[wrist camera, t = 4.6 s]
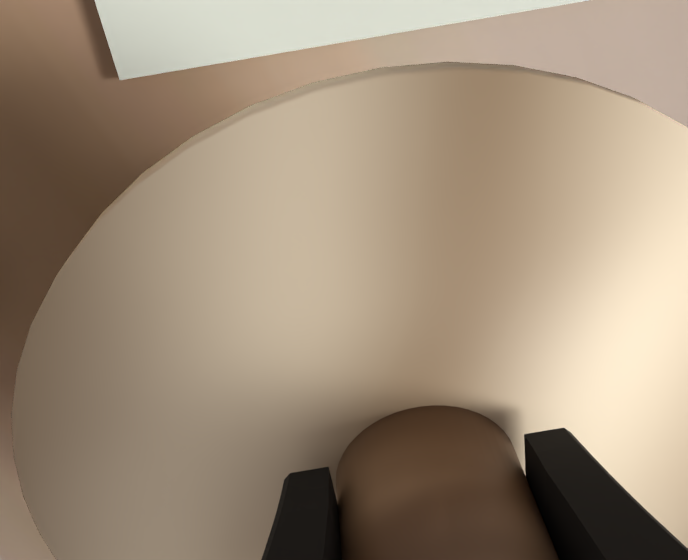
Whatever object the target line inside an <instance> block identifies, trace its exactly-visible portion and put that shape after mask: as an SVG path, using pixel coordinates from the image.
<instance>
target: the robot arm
mask: <svg viewBox="0 0 688 560" xmlns="http://www.w3.org/2000/svg"><path fill="white" fill-rule="evenodd" d="M524 444H525V474H526V478H527V481H528V483H529V486H530V488H531V491H532V493H533V496H534V498H535V501H536V503H537V506H538V508H539V510H540V513H541V515H542V518H543V520H544V523H545V525H546V528H547V530H548V533H549V535H550V538H551V540H552V542H553V545H554V547H555V550H556V552H557V555H558V557H559V560H688V548H687V547H686V546H684V545H683V544H682V543H681V542H680V541H679V540H678V539H677V538H676V537H675V536H674V535H673V534H672V533H670V532H669V531H668V530H667V529H666V528H665V527H664V526H663V525H662V524H661V523H660V522H659V521H658V520H656V519H655V518H654V517H653V516H652V515H651V514H650V513H649V512H648V511H647V510H646V509H645V508H644V507H643V506H642V505H641V504H640V503H639V502H637V501H636V500H635V499H634V498H633V497H632V496H631V495H630V494H629V493H628V492H627V491H626V490H625V489H624V488H623V487H622V486H621V485H620V484H619V483H618V482H617V481H616V480H615V479H614V478H613V477H612V476H611V475H610V474H609V473H608V471H607V470H606V469H605V468H604V467H603V466H602V465H601V464H600V463H599V462H598V461H597V460H596V459H595V458H594V457H593V456H592V455H591V454H590V453H589V452H588V450H587V449H586V448H585V447H584V446H583V445H582V444H581V443H580V442H579V441H578V440H577V439H576V437H575V436H574V435H573V434H572V433H571V432H570V431H568V430H567V429H565V428H558V429H552V430H546V431H540V432H534V433H528V434H524ZM261 560H342V556H341V542H340V528H339V513H338V504H337V500H336V495H335V491H334V487H333V483H332V479H331V474H330V470H329V467H323V468H317V469H311V470H305V471H299V472H293V473H290V474H289V475H288V476H287V477H286V478H285V479H284V483H283V487H282V492H281V496H280V500H279V504H278V508H277V511H276V515H275V518H274V522H273V525H272V528H271V532H270V535H269V538H268V541H267V544H266V547H265V550H264V553H263V556H262V559H261Z"/></svg>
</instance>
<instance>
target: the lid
mask: <svg viewBox="0 0 688 560" xmlns="http://www.w3.org/2000/svg"><path fill="white" fill-rule="evenodd" d="M11 418H12V435H13V452H14V460H15V464H16V468H17V472H18V476H19V481H20V485H21V489H22V493H23V497H24V499H25V501H26V504H27V506H28V508H29V511H30V513H31V515H32V518H33V520H34V522H35V524H36V527H37V529H38V531H39V533H40V535H41V536H42V538H43V540H44V541H45V543H46V544H47V546H48V547H49V549H50V551H51V552H52V554H53V555H54V557H55V558H56V560H261V559H262V556H263V553H264V550H265V547H266V544H267V541H268V538H269V535H270V532H271V528H272V525H273V522H274V518H275V515H276V511H277V508H278V504H279V500H280V496H281V492H282V487H283V483H284V479H285V478H286V477H287V476H288V475H289V474H290V473H293V472H299V471H305V470H311V469H317V468H323V467H329V470H330V474H331V479H332V483H333V487H334V491H335V495H336V500H337V504H338V513H339V528H340V542H341V556H342V560H559V557H558V555H557V552H556V550H555V547H554V545H553V542H552V540H551V538H550V535H549V533H548V530H547V528H546V525H545V523H544V520H543V518H542V515H541V513H540V510H539V508H538V506H537V503H536V501H535V498H534V496H533V493H532V491H531V488H530V486H529V483H528V481H527V478H526V474H525V444H524V434H528V433H534V432H540V431H546V430H552V429H558V428H565V429H567V430H568V431H570V432H571V433H572V434H573V435H574V436H575V437H576V439H577V440H578V441H579V442H580V443H581V444H582V445H583V446H584V447H585V448H586V449H587V450H588V452H589V453H590V454H591V455H592V456H593V457H594V458H595V459H596V460H597V461H598V462H599V463H600V464H601V465H602V466H603V467H604V468H605V469H606V470H607V471H608V473H609V474H610V475H611V476H612V477H613V478H614V479H615V480H616V481H617V482H618V483H619V484H620V485H621V486H622V487H623V488H624V489H625V490H626V491H627V492H628V493H629V494H630V495H631V496H632V497H633V498H634V499H635V500H636V501H637V502H639V503H640V504H641V505H642V506H643V507H644V508H645V509H646V510H647V511H648V512H649V513H650V514H651V515H652V516H653V517H654V518H655V519H656V520H658V521H659V522H660V523H661V524H662V525H663V526H664V527H665V528H666V529H667V530H668V531H669V532H670V533H672V534H673V535H674V536H675V537H676V538H677V539H678V540H679V541H680V542H681V543H682V544H683V545H684V546H686V547H687V548H688V127H686V126H684V125H682V124H680V123H679V122H677V121H675V120H673V119H671V118H669V117H668V116H666V115H664V114H662V113H660V112H659V111H657V110H655V109H653V108H651V107H649V106H648V105H646V104H644V103H642V102H640V101H638V100H637V99H635V98H633V97H630V96H627V95H624V94H621V93H619V92H616V91H613V90H610V89H607V88H605V87H602V86H599V85H596V84H593V83H591V82H588V81H585V80H582V79H579V78H576V77H571V76H566V75H561V74H556V73H551V72H546V71H541V70H535V69H530V68H525V67H520V66H515V65H498V64H478V63H459V62H441V63H430V64H418V65H406V66H394V67H382V68H377V69H372V70H368V71H363V72H359V73H354V74H350V75H345V76H341V77H336V78H332V79H327V80H323V81H318V82H314V83H311V84H308V85H306V86H303V87H300V88H297V89H295V90H292V91H289V92H286V93H284V94H281V95H278V96H276V97H273V98H270V99H267V100H265V101H262V102H259V103H256V104H254V105H251V106H249V107H247V108H245V109H243V110H242V111H240V112H238V113H236V114H234V115H232V116H230V117H228V118H226V119H225V120H223V121H221V122H219V123H217V124H215V125H213V126H211V127H209V128H208V129H206V130H204V131H202V132H200V133H198V134H196V135H194V136H193V137H191V138H190V139H189V140H187V141H186V142H184V143H183V144H182V145H180V146H179V147H178V148H176V149H175V150H173V151H172V152H171V153H169V154H168V155H167V156H165V157H164V158H162V159H161V160H160V161H158V162H157V163H155V164H154V165H153V166H151V167H150V168H149V169H147V170H146V171H144V172H143V173H142V174H141V175H140V176H139V177H138V178H137V179H136V180H135V181H134V182H133V183H132V184H131V185H130V186H129V187H128V188H127V189H126V190H125V191H124V192H123V193H122V194H121V195H120V196H119V197H118V198H117V199H115V200H114V201H113V202H112V203H111V204H110V205H109V206H108V207H107V208H106V209H105V210H104V211H103V212H102V213H101V215H100V216H99V217H98V219H97V220H96V221H95V223H94V224H93V225H92V227H91V228H90V229H89V231H88V232H87V233H86V235H85V236H84V237H83V239H82V240H81V241H80V243H79V244H78V245H77V247H76V248H75V249H74V251H73V252H72V253H71V255H70V256H69V257H68V259H67V260H66V262H65V263H64V265H63V267H62V268H61V270H60V271H59V273H58V274H57V276H56V277H55V279H54V281H53V283H52V285H51V287H50V289H49V291H48V293H47V295H46V296H45V298H44V300H43V302H42V304H41V306H40V308H39V310H38V312H37V314H36V316H35V318H34V320H33V322H32V323H31V326H30V330H29V333H28V336H27V339H26V342H25V346H24V349H23V352H22V355H21V358H20V362H19V365H18V368H17V373H16V381H15V389H14V397H13V405H12V413H11Z"/></svg>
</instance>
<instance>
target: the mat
mask: <svg viewBox="0 0 688 560" xmlns="http://www.w3.org/2000/svg"><path fill="white" fill-rule="evenodd" d="M582 1H588V0H95V3H96V7H97V10H98V13H99V16H100V19H101V22H102V26H103V29H104V32H105V35H106V38H107V42H108V45H109V48H110V51H111V54H112V57H113V61H114V64H115V67H116V70H117V73H118V76H119V80H125V79H130V78H136V77H142V76H148V75H154V74H160V73H166V72H172V71H177V70H183V69H189V68H195V67H201V66H207V65H213V64H218V63H224V62H230V61H236V60H242V59H248V58H254V57H260V56H265V55H271V54H277V53H283V52H289V51H295V50H301V49H306V48H312V47H318V46H324V45H330V44H336V43H342V42H348V41H353V40H359V39H365V38H371V37H377V36H383V35H389V34H394V33H400V32H406V31H412V30H418V29H424V28H430V27H436V26H441V25H447V24H453V23H459V22H465V21H471V20H477V19H482V18H488V17H494V16H500V15H506V14H512V13H518V12H524V11H529V10H535V9H541V8H547V7H553V6H559V5H565V4H570V3H576V2H582Z"/></svg>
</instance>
